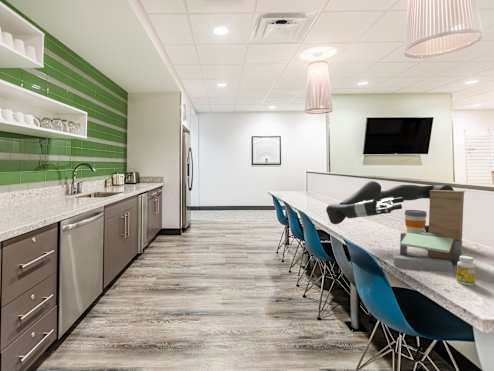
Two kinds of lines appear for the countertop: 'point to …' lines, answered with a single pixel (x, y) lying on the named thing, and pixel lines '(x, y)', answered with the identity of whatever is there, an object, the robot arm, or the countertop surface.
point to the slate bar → (422, 263)
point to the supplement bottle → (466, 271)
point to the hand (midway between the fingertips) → (402, 202)
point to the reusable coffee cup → (415, 221)
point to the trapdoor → (428, 241)
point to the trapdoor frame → (456, 257)
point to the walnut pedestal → (446, 218)
